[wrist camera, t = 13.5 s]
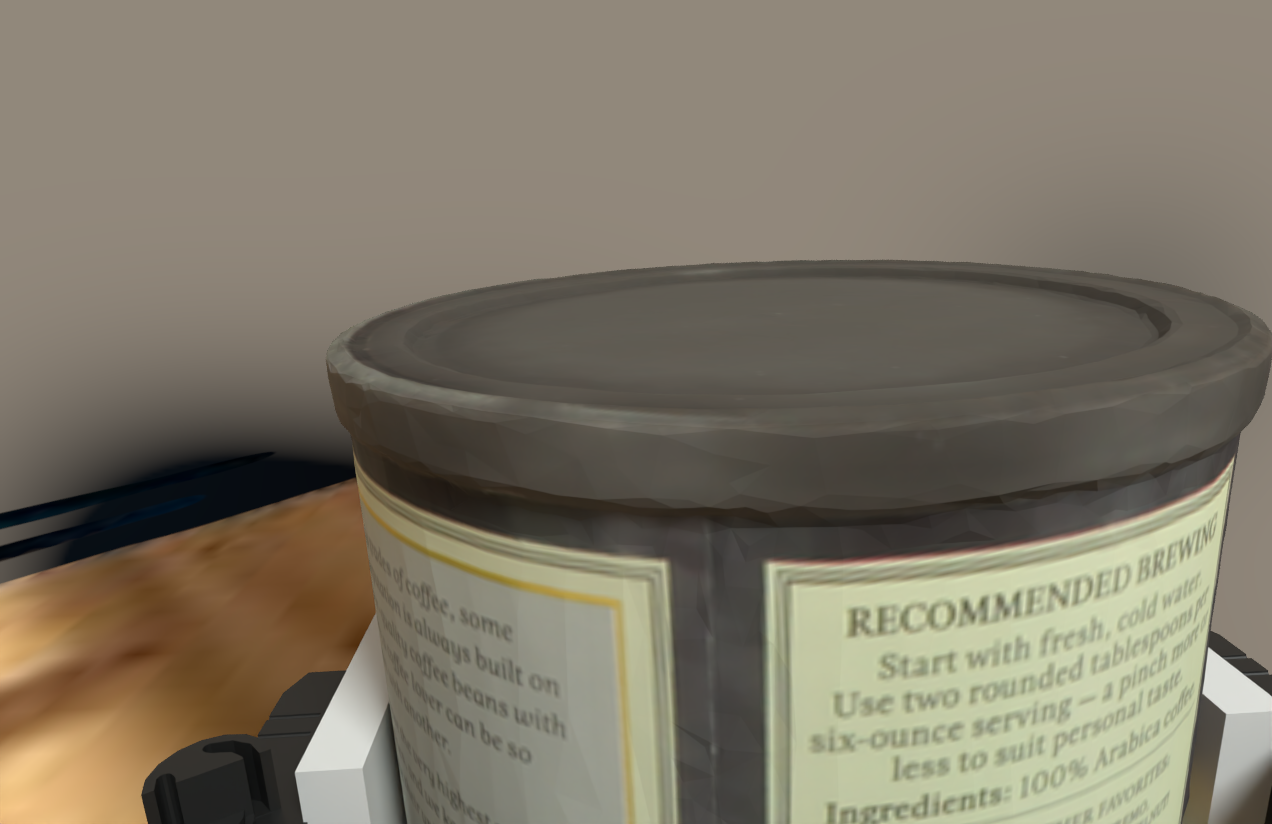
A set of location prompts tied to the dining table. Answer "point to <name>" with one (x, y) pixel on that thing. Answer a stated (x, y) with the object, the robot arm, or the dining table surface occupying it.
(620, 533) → the coffee can
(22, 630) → the dining table surface
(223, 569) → the dining table surface
